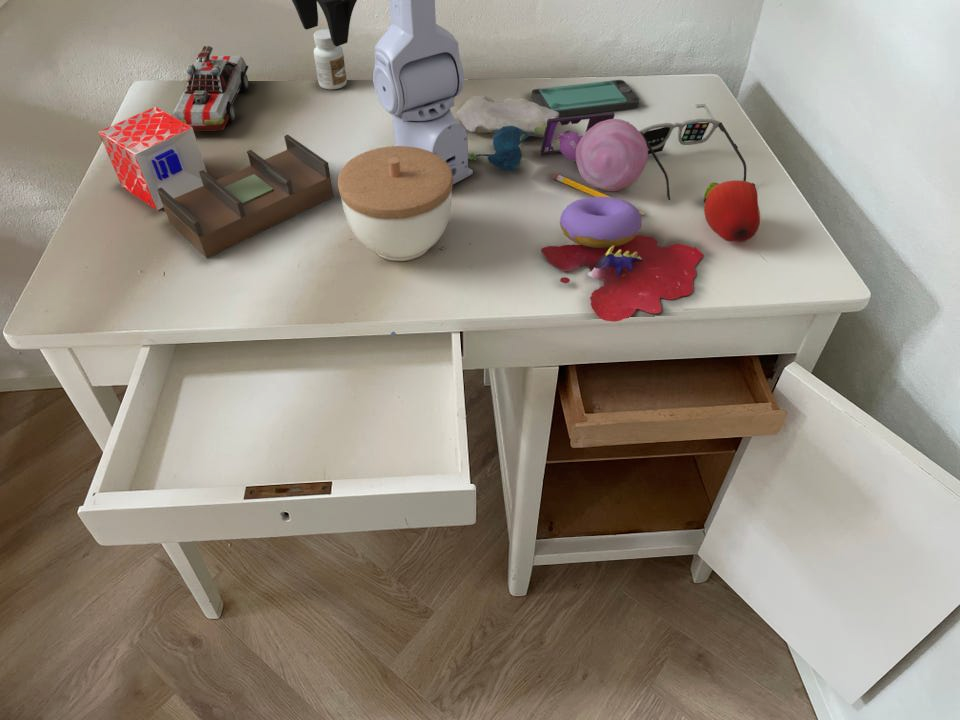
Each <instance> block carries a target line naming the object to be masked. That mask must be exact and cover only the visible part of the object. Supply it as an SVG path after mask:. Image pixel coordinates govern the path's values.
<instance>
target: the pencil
mask: <svg viewBox="0 0 960 720" xmlns="http://www.w3.org/2000/svg"><path fill="white" fill-rule="evenodd" d="M553 179H554V180H556V181H558V182H561V183H563V184H565V185H567V186H569V187H572V188H574V189H576V190H579V191H581V192H583V193H586V194H588V195H591V196H592V197H611V198H613V197H612V196H610V195H607V194H605V193H603V192H600V191H598V190H595V189H593V188H591V187H588V186H587V185H584V184H582V183H579V182H577V181H574V180H572V179H570V178H568V177H565V176H562V175H561V174H558V173H555V174H554V175H553ZM638 211H639V213H640V215H642V216H643V215H645V213H644V212H643V211H641V210H640V209H638Z"/></svg>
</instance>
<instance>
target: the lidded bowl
mask: <svg viewBox="0 0 960 720" xmlns="http://www.w3.org/2000/svg"><path fill="white" fill-rule="evenodd" d="M453 185H454V184H453V175H452V170H451V169H450V167H449V165H448V164H447V163H446V162H445V161H444V160H443V159H442V158H441V157H440V156H438V155H436V154H434V153H432V152H430V151H428V150H424V149H421V148H416V147H408V146H395V145H390V146H384V147H378V148H374V149H370V150H367V151H365V152H362V153H360V154H357V155H356V156H354V157H353V158H351V159H350V160H349V161H348V162H347V163H345V165H344V166H343V167H342V168H341V170H340V172H339V174H338V178H337V188H338V192H339V196H340V198H341V204H342V208H343V211H344V215H345V218H346V221H347V224H348V226H349V228H350V230H351V232H352V233H353V234H354V236H355V238H356V239H357V240H358V241H359V242H360V243H361V244H362V245H363V246H364V247H365V248H367V249H368V250H370V251H372V253H375V254H376V255H377V256H379V257H381V258H383V259H385V260H388V261H395V262H405V261H411V260H415V259H417V258H420V257H422V256H423V255H425V254H426V253H427V252H428V251H429V249H430V248H432V247H433V246H435V244H436V243H437V242H438V241H439V240H440V239H441V237H442V236H443V234H444V233H445V231H446V229H447V227H448V223H449V222H450V221H449V220H450V217H451V211H452V200H453Z"/></svg>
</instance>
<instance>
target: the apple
mask: <svg viewBox="0 0 960 720" xmlns="http://www.w3.org/2000/svg"><path fill="white" fill-rule="evenodd" d="M758 197H759V196H758V190H757V188H756V184H755V183H754V182H750V181H747V180H746V181H743V180H726V181H721V182H720V183H719V182H711V183H710V184H709V185H708V187H706V189H705V191H704V196H703V203H704V207H703V210H704V217H705V220H706V222H707V224H708V226H709V228H710V229H711V230H712V231H713V232H714V233H715V234H717V235H718V236H719V237H720V238H721V239H723V240H725V241H727V242H746V241H748V240H750V239H752V238H753V237H754V236H756V233H757V231H758V230H759V227H760V225H761V211H760V206H759V198H758Z"/></svg>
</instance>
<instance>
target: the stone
mask: <svg viewBox="0 0 960 720" xmlns="http://www.w3.org/2000/svg"><path fill="white" fill-rule="evenodd" d="M456 117H457V119H458V120H459V123H462V125H463V126H464V128H465V129H466V131H469V132H470V133H483V134H486V133H493V134H495V133H497V132H498V131H499V130H500V129H501V128H502V127H504V126H514V127H518V128H519V129H521V130H522V131H524V132H525V133H527V134H528V135H529V134H531V133H533V132H535V130H534V129H535V127H536V126H537V125H538V124H540V123H541V122H542V121H545V122H546V124H547V120H548V119H550V118H552V117H555V118H560V117H559V112H556V111H554V110H552V109H549V108H547V107H542V106H539V105H538V104H537V103H534V101H530V100H528V99H526V98H521V97H520V98H514V97H507V98H505V100H504V101H500V102H495V101H494V100H493V98H491V97H489V96H485V95H473V96H472V97H470V98H469V99H467V100H466V101H465V103H463V104H462V106H461V107H460V108H459V109H458V111H456ZM546 124H545V125H546ZM545 125H544V126H545ZM544 126H543V127H544ZM545 129H546V128H545ZM545 129H544V130H543V131H542V132H541V134H536V133H533V134H532V135H530V136H528V135H527V136H528V137H538V138H544V133H545Z"/></svg>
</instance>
